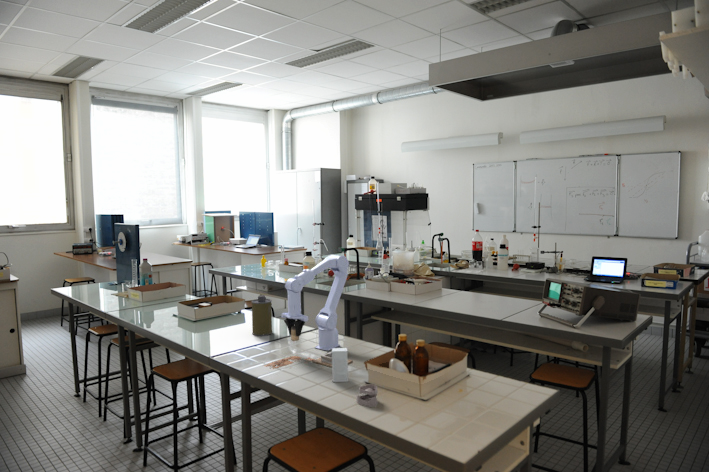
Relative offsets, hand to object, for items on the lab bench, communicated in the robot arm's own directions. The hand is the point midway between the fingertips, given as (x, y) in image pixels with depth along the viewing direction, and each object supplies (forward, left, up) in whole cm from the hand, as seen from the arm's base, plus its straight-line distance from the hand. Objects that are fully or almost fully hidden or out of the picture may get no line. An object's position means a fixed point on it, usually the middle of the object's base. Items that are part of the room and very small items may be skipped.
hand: (295, 335), depth 210 cm
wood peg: (0, 0, -2) cm, 2 cm away
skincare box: (+13, +35, -9) cm, 38 cm away
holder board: (-1, +20, -9) cm, 22 cm away
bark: (+10, +5, -10) cm, 15 cm away
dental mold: (+24, +55, -9) cm, 61 cm away
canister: (-17, -39, -9) cm, 44 cm away
